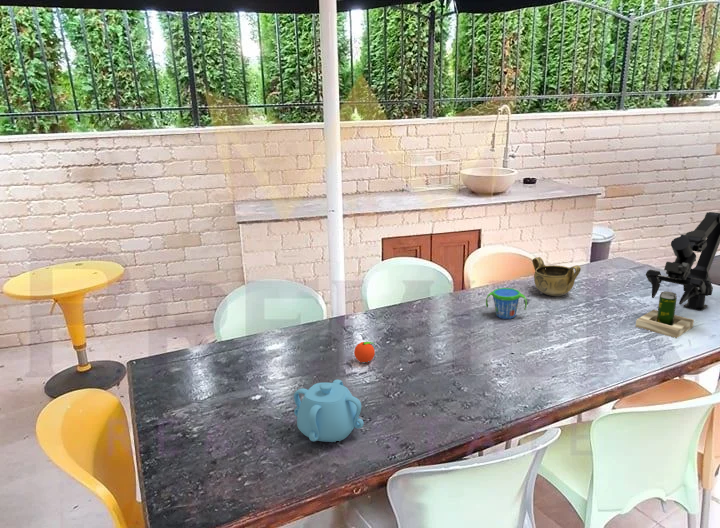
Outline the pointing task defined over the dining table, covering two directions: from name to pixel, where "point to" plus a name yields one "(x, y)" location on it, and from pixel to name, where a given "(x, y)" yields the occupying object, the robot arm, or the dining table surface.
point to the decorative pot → (327, 412)
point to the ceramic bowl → (554, 277)
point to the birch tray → (675, 330)
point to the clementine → (364, 352)
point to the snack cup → (506, 302)
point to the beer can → (666, 308)
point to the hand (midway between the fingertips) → (665, 300)
